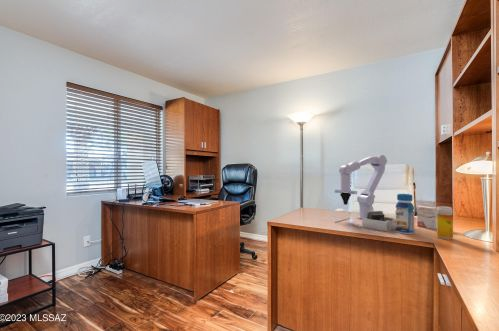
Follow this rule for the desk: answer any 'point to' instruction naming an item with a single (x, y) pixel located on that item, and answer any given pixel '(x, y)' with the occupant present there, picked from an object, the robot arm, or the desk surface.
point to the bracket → (379, 223)
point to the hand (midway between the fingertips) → (345, 204)
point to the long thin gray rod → (342, 220)
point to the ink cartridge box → (426, 214)
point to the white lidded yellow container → (444, 222)
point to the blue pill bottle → (404, 214)
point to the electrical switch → (375, 215)
